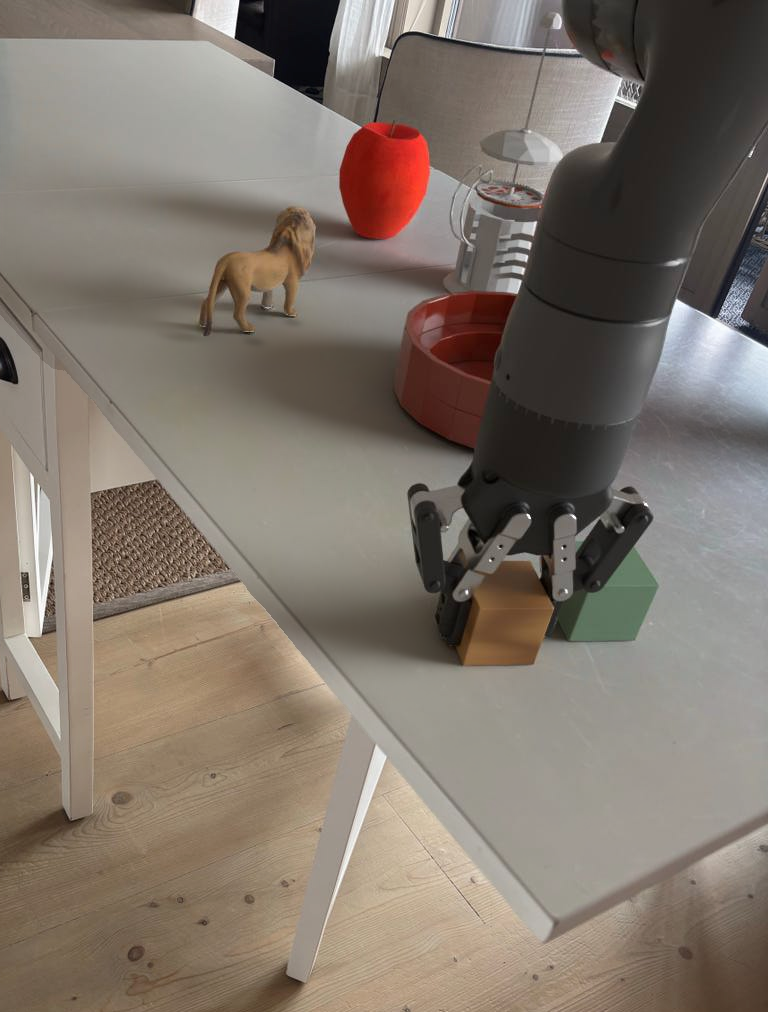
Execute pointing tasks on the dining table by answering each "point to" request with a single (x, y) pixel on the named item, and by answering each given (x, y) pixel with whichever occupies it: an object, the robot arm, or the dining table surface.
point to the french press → (502, 208)
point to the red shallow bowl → (451, 360)
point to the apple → (383, 178)
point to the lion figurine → (264, 269)
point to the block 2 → (611, 604)
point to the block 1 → (506, 618)
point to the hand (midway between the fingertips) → (490, 635)
